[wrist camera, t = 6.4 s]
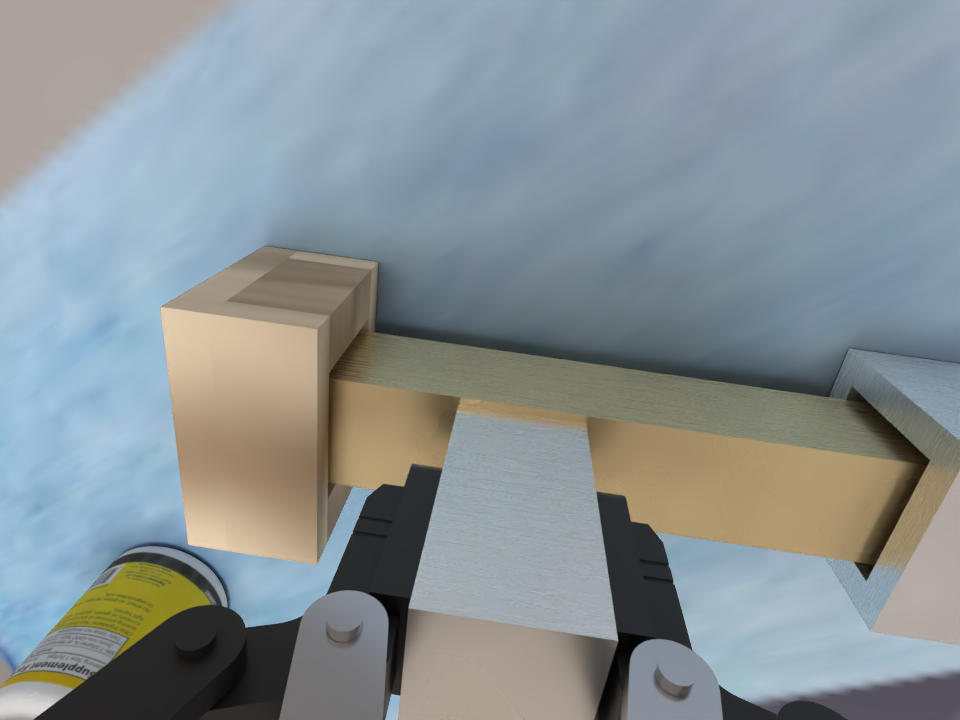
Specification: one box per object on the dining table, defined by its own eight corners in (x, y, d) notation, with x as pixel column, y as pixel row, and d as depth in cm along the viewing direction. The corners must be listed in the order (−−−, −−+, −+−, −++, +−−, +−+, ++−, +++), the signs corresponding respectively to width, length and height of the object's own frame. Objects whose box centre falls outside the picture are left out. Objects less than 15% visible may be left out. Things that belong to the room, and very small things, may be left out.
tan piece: (295, 321, 17) (65, 544, 9) (945, 414, 16) (1359, 745, 8) (296, 413, 18) (98, 684, 10) (899, 501, 17) (1218, 866, 9)
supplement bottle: (235, 641, 24) (96, 897, 16) (122, 624, 24) (-67, 870, 17) (226, 550, 22) (63, 794, 14) (103, 532, 22) (-124, 765, 15)
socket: (264, 246, 17) (160, 306, 12) (378, 261, 17) (317, 329, 12) (271, 435, 20) (188, 544, 15) (369, 449, 20) (316, 564, 15)
